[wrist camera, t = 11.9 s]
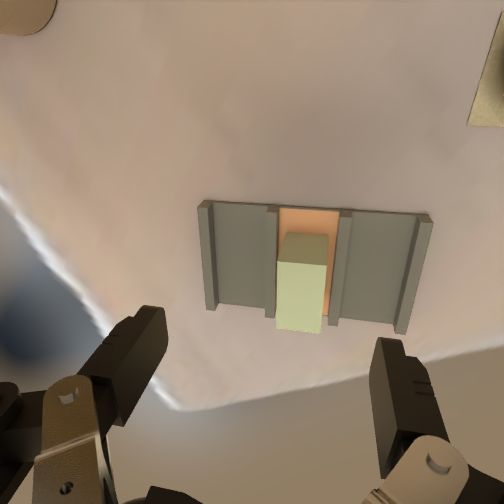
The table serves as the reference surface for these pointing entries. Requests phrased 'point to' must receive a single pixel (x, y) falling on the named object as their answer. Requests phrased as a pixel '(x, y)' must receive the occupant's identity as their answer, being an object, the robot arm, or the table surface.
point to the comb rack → (338, 258)
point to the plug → (301, 282)
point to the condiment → (491, 86)
